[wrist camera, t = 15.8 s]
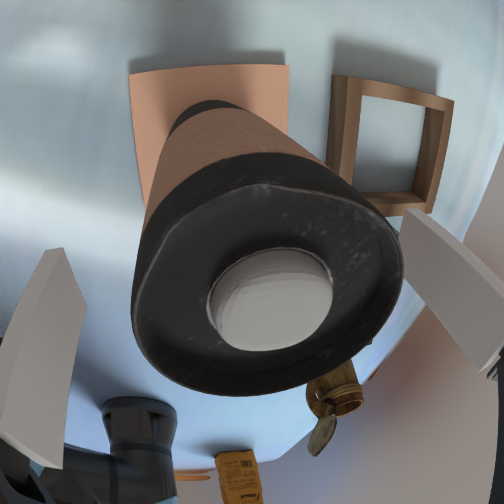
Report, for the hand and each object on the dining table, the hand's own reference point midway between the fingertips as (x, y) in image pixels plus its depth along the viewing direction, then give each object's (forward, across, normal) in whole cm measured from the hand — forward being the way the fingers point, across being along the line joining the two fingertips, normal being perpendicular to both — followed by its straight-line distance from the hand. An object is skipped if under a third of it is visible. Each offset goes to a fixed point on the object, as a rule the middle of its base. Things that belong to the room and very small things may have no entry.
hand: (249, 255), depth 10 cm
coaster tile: (+17, 0, 0) cm, 17 cm away
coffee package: (+19, -2, -86) cm, 89 cm away
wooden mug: (+18, +14, -34) cm, 41 cm away
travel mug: (+17, 0, 0) cm, 17 cm away
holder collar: (+17, +18, 0) cm, 25 cm away
